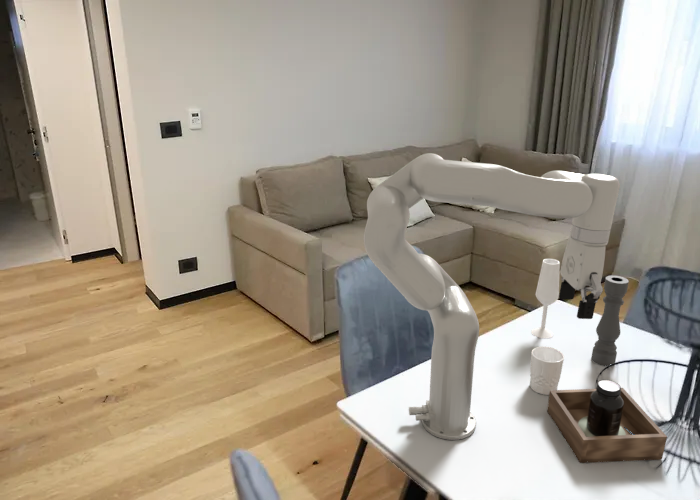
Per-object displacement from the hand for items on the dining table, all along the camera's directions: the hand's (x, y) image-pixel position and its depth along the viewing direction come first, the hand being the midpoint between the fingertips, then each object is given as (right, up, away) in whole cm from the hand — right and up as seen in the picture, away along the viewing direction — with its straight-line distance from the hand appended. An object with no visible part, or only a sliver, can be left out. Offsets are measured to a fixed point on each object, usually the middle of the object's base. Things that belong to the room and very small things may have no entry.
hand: (574, 308), depth 120 cm
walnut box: (+8, -30, +6) cm, 31 cm away
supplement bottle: (+8, -29, +5) cm, 30 cm away
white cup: (+1, -24, +23) cm, 33 cm away
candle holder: (+23, -19, +36) cm, 46 cm away
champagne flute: (+11, -14, +51) cm, 54 cm away
